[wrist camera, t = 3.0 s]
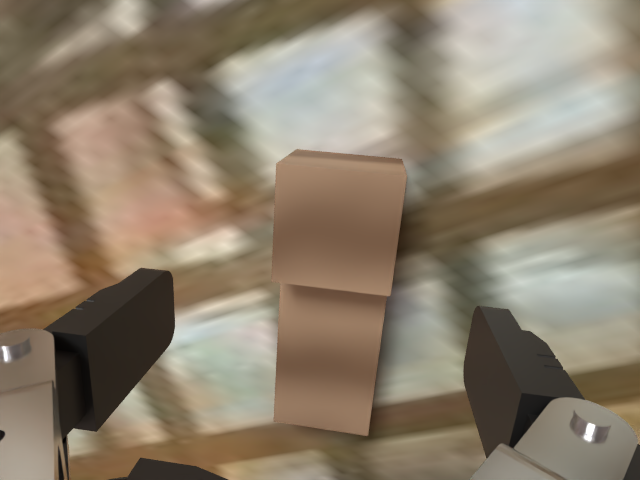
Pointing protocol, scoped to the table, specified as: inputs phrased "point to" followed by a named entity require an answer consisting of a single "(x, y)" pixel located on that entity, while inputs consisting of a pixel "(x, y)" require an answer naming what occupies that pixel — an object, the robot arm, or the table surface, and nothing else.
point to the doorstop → (333, 283)
